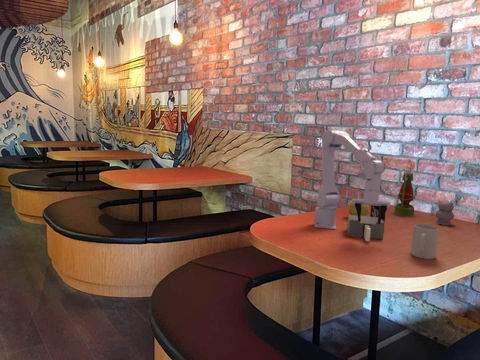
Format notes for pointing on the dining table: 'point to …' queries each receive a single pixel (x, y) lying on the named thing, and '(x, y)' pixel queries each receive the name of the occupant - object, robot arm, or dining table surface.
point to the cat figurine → (444, 212)
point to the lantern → (405, 195)
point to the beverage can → (376, 212)
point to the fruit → (353, 211)
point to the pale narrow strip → (366, 232)
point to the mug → (424, 241)
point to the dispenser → (357, 227)
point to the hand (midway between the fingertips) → (368, 222)
